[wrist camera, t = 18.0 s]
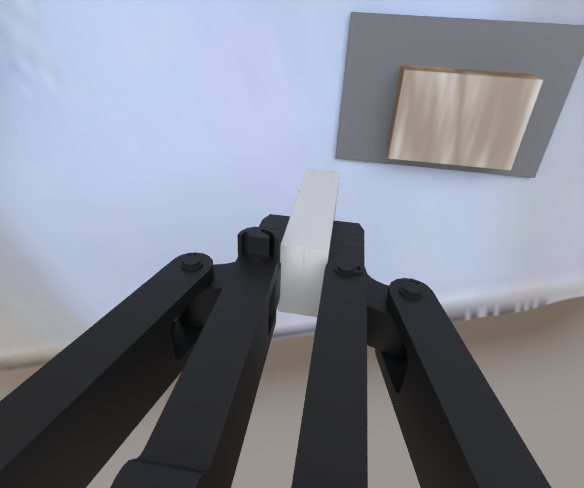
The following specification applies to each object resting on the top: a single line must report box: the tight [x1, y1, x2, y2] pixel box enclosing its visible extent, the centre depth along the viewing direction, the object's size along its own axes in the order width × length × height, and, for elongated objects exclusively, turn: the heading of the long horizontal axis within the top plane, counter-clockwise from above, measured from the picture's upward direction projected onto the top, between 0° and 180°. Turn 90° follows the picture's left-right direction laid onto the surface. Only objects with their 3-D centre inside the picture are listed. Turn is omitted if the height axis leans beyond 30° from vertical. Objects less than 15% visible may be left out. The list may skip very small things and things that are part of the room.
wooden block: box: [387, 65, 543, 170], centre depth 33 cm, size 3×7×10 cm
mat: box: [336, 12, 584, 178], centre depth 34 cm, size 18×12×1 cm, turn 87°
